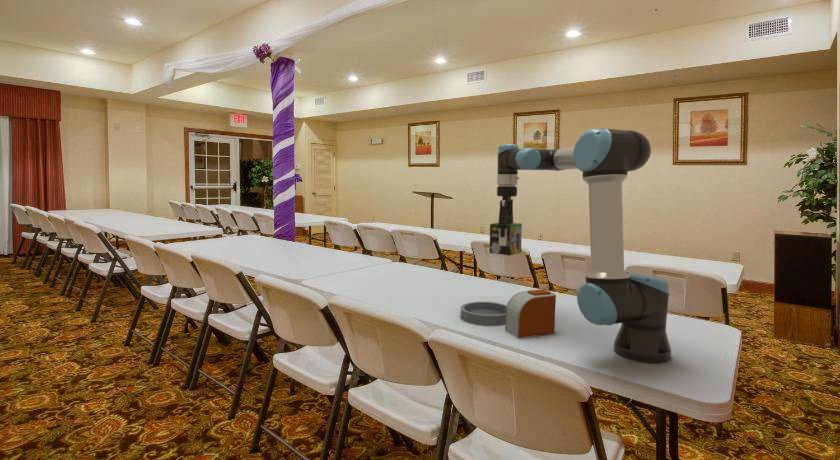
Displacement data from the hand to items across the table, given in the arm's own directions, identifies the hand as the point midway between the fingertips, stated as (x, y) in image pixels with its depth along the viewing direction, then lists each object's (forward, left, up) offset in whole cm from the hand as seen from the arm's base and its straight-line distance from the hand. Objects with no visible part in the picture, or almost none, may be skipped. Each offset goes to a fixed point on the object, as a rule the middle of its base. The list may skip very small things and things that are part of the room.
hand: (505, 243), depth 178 cm
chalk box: (0, 0, -4) cm, 4 cm away
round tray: (-14, +4, -26) cm, 29 cm away
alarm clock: (-23, -13, -26) cm, 37 cm away
